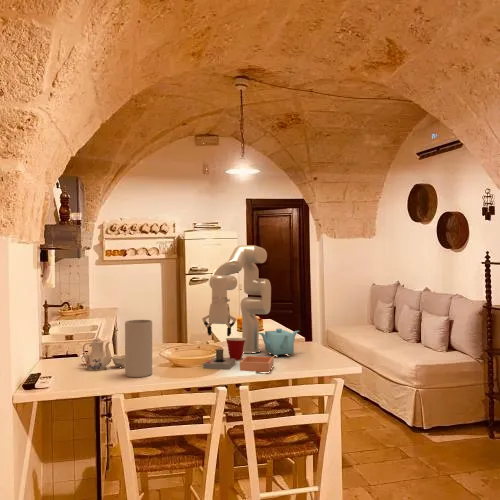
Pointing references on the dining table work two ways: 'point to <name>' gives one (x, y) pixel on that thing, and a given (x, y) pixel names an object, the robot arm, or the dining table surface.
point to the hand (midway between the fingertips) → (219, 335)
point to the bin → (257, 364)
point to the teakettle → (279, 341)
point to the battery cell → (219, 355)
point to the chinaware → (101, 356)
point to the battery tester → (219, 364)
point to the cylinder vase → (138, 348)
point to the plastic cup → (235, 347)
